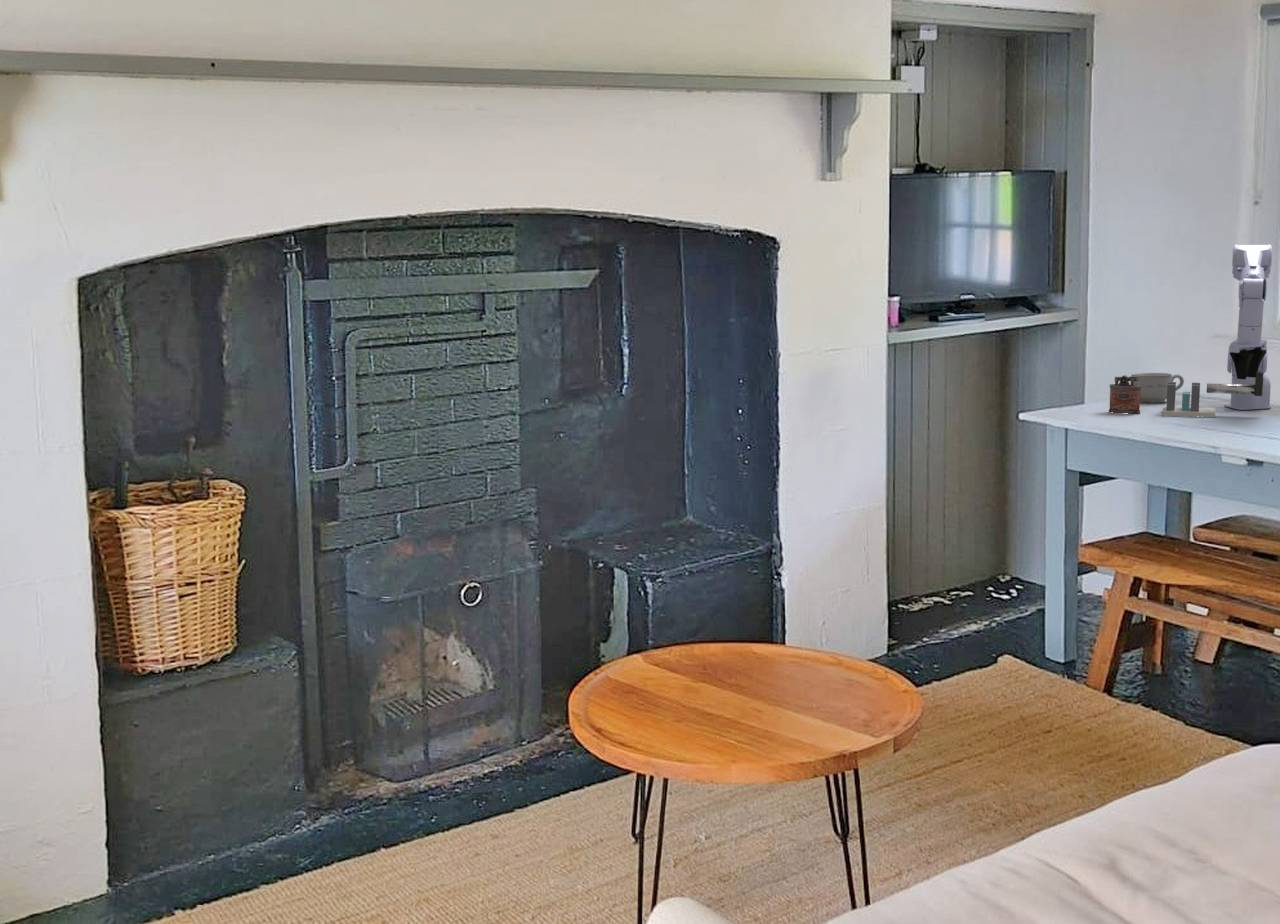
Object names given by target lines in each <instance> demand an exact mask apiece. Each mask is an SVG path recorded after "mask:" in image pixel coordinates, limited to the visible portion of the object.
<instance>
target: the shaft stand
mask: <svg viewBox="0 0 1280 924" xmlns="http://www.w3.org/2000/svg"><path fill="white" fill-rule="evenodd" d="M1176 387H1177V381H1173V382H1168V386H1167V399H1166V405H1165V406H1162V409H1161V410H1162V411H1161V416H1162V417H1181V416H1199V417H1198V418H1211V417H1215V418H1216V407H1200V393H1201V392H1200V391H1201V383H1200V382H1191V393H1190V406H1189V411H1182V406H1176V392H1177V391H1176ZM1202 416H1203V417H1202Z"/></svg>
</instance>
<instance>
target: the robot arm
mask: <svg viewBox="0 0 1280 924" xmlns="http://www.w3.org/2000/svg"><path fill="white" fill-rule="evenodd" d="M1272 258H1273V245H1271V244H1234V245H1233V247H1232V258H1231V259H1232V261H1231V263H1232V264H1231V266H1232V271H1231V272H1232V276H1233V277H1232V278H1234V279H1236V281H1237V280H1238V281H1239V285H1238V307H1239V310H1238V321H1237V322H1238V324H1237V337H1236V338H1237V339H1235V340H1233V341H1232V342H1230V344H1229V346H1228V351H1227V365H1226V367H1227V368H1226V370H1227V372H1228V373H1229V374H1231V384H1248V385H1255V377H1256V373H1257V372H1263V390H1262V396H1255V395H1254V394H1230V403H1226V404H1225V403H1224V404H1223V407H1224V408H1225V407H1226V408H1230V409H1235V410H1238V411H1246V410H1247V411H1248V410H1249V411H1250V410H1265V409H1267V410H1268V409H1271V408H1272V406H1271V405H1270V404H1271V403H1270V402H1271V389H1272V388H1271V381H1270V378H1269V376H1267V375H1266V374H1265V373H1267V367H1268V346H1267V339H1264V340H1263V339H1262V334H1263V333H1262V331H1263V317H1264V305H1265V304H1264V302H1265V301H1266V299H1267V292H1268V281H1267V279H1268V278H1269V277H1270V274H1271V267H1272V260H1273V259H1272Z"/></svg>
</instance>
